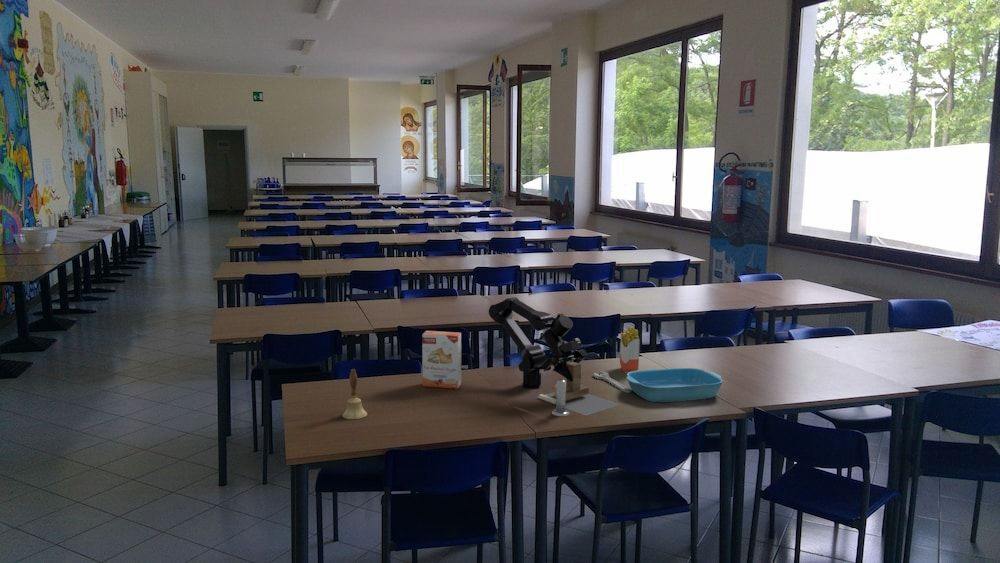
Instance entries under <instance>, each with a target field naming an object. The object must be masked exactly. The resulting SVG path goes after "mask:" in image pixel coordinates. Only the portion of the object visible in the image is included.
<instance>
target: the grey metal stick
mask: <svg viewBox="0 0 1000 563" xmlns="http://www.w3.org/2000/svg"><path fill="white" fill-rule="evenodd" d="M556 385H557V391H556V405H555V409H552V411H551V414H552V415H553V416H556V417H567V416H570V410H569V409H566V379H563V378H562V379H561V378H559V379H558V378H557V379H556Z"/></svg>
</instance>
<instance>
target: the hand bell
mask: <svg viewBox="0 0 1000 563" xmlns="http://www.w3.org/2000/svg"><path fill="white" fill-rule="evenodd" d="M349 384H350V388H351V398H349V399H348V400H347V402H346V405H347V406H346V409H345V411H344V412H343V413H342V418H343V419H345V420H359V419H363V418H365V417H367V416H368V412H367V411H366V410H365V409H364V407H363V404H362V400H361V398H360V397H359V398H358V395H357V394H358V393H357V384H358V375H357V372H356V369H355V368H352V369H350V373H349Z"/></svg>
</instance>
